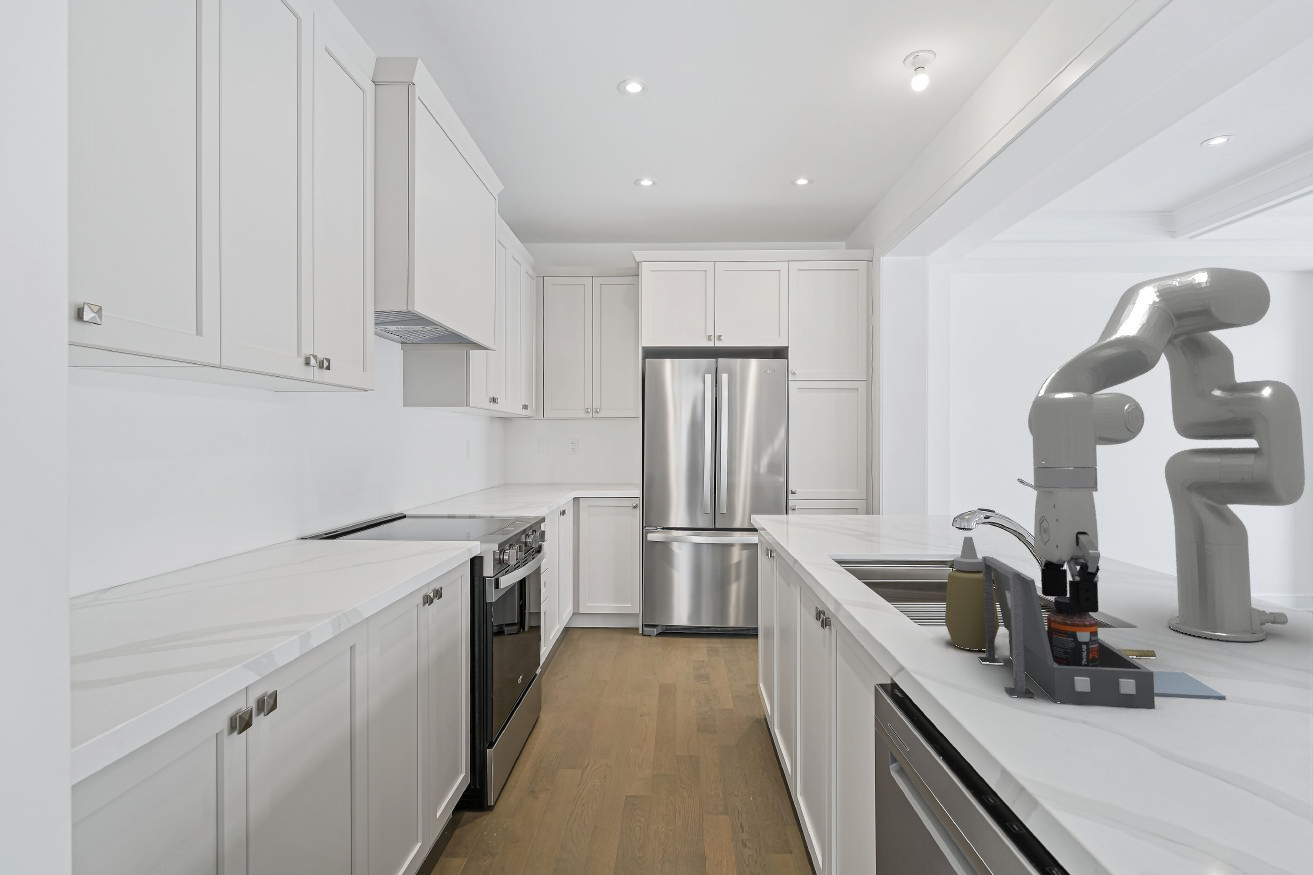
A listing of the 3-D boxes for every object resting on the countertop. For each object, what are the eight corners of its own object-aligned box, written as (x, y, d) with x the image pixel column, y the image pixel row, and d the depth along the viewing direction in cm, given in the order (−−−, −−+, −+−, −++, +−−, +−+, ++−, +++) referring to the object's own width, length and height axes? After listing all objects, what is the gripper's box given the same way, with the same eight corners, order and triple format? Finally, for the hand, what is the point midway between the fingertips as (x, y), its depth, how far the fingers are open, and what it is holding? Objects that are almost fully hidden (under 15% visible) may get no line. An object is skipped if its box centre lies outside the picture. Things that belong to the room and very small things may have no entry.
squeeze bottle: (988, 657, 99) (983, 541, 99) (936, 646, 105) (932, 537, 105) (1008, 646, 104) (1003, 536, 104) (958, 636, 110) (954, 532, 110)
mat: (1183, 674, 89) (1183, 672, 89) (1225, 699, 80) (1225, 696, 80) (1111, 671, 91) (1111, 668, 91) (1144, 695, 82) (1144, 692, 82)
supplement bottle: (1101, 691, 84) (1097, 605, 84) (1049, 683, 87) (1045, 601, 87) (1098, 677, 89) (1095, 596, 89) (1049, 670, 92) (1045, 592, 92)
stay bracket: (999, 659, 97) (994, 555, 98) (1035, 698, 82) (1030, 574, 83) (977, 659, 98) (973, 555, 98) (1010, 696, 83) (1005, 574, 83)
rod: (1153, 648, 97) (1157, 656, 96) (1150, 653, 97) (1154, 661, 96) (1065, 644, 99) (1068, 652, 98) (1063, 650, 100) (1066, 657, 99)
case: (1089, 661, 96) (1088, 631, 96) (1156, 709, 78) (1155, 672, 78) (1009, 657, 98) (1008, 628, 98) (1057, 704, 80) (1055, 668, 80)
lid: (992, 556, 99) (986, 557, 99) (1034, 579, 81) (1026, 580, 81) (1008, 626, 98) (1002, 627, 98) (1054, 664, 81) (1046, 665, 81)
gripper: (1015, 478, 98) (1017, 590, 97) (1059, 482, 81) (1063, 617, 80) (1069, 479, 96) (1072, 592, 96) (1126, 482, 79) (1130, 620, 79)
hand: (1068, 603), depth 88 cm, fingers open, 9 cm apart
